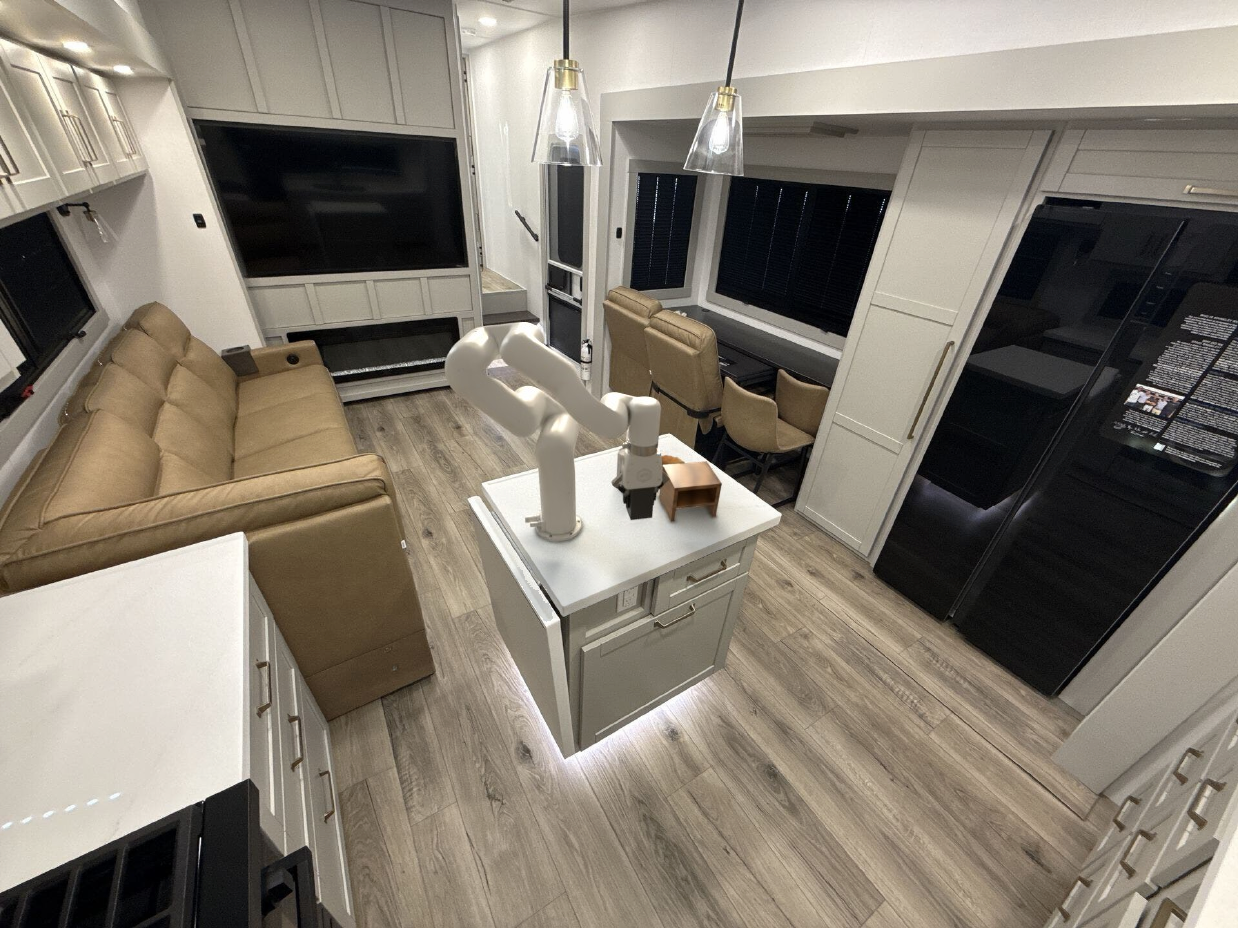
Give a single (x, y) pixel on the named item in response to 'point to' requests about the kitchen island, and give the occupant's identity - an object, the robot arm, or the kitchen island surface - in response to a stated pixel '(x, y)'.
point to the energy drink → (620, 462)
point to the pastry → (671, 460)
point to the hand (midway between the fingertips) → (639, 503)
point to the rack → (690, 488)
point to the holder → (641, 503)
